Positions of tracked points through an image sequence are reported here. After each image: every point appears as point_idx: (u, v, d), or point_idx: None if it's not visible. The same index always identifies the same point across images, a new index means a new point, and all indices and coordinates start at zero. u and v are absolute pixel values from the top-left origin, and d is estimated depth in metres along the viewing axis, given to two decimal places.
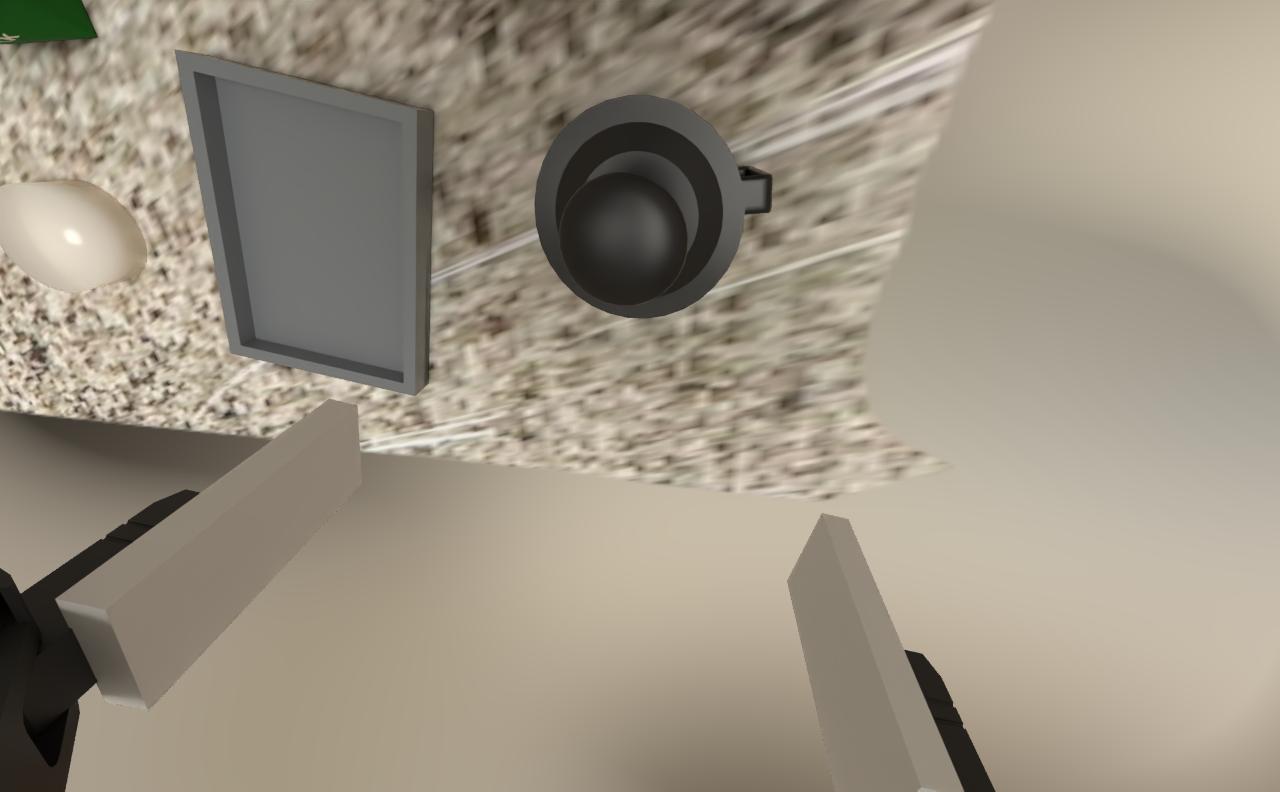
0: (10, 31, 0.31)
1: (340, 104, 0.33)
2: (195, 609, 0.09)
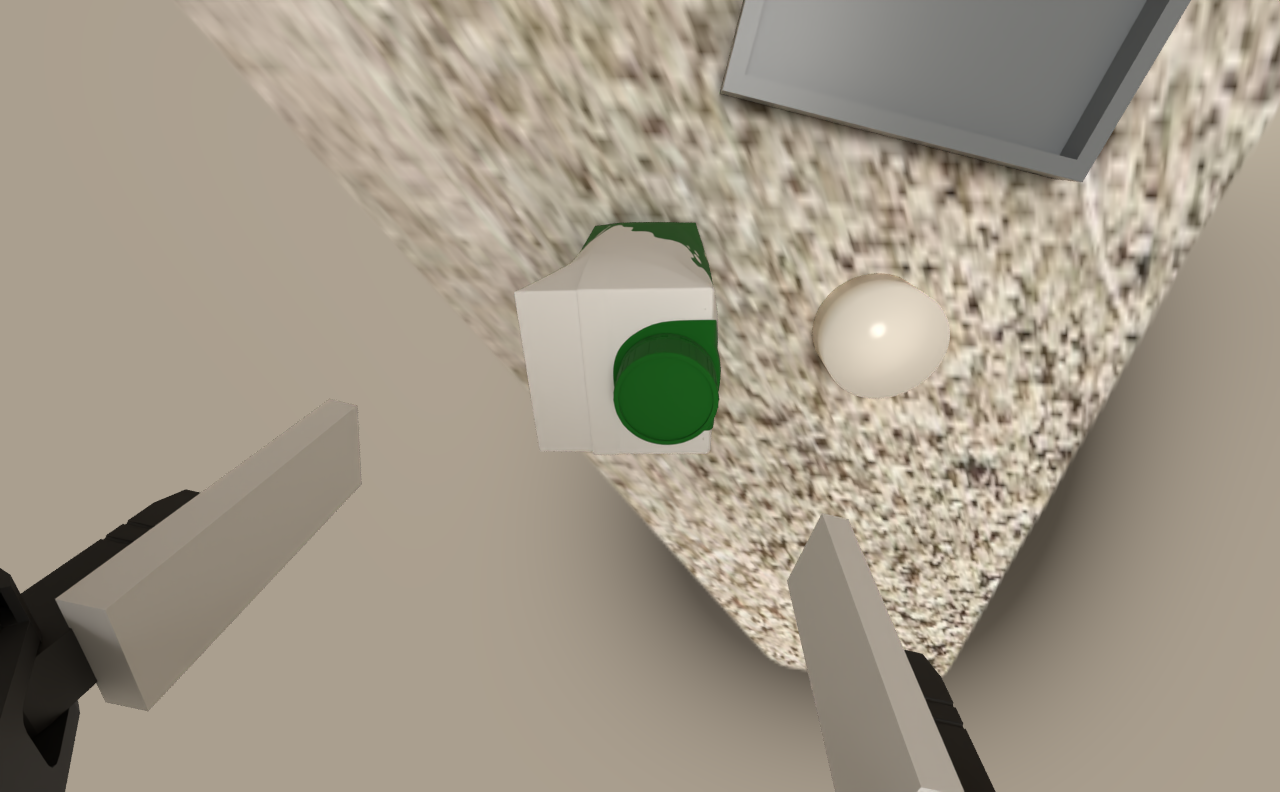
0: (701, 249, 0.31)
1: None
2: (195, 609, 0.09)
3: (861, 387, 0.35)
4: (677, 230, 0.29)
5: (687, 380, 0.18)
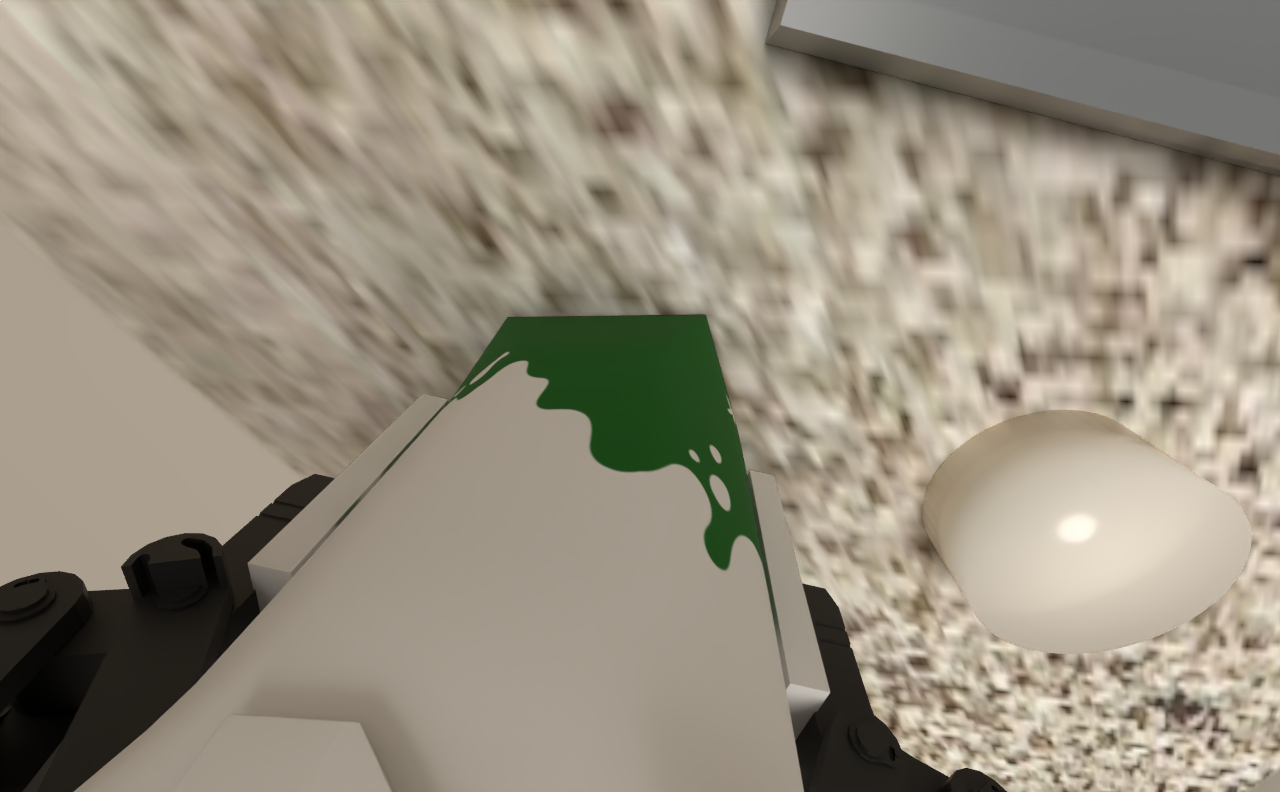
0: (722, 398, 0.14)
1: None
2: None
3: (1035, 636, 0.18)
4: (665, 380, 0.11)
5: None
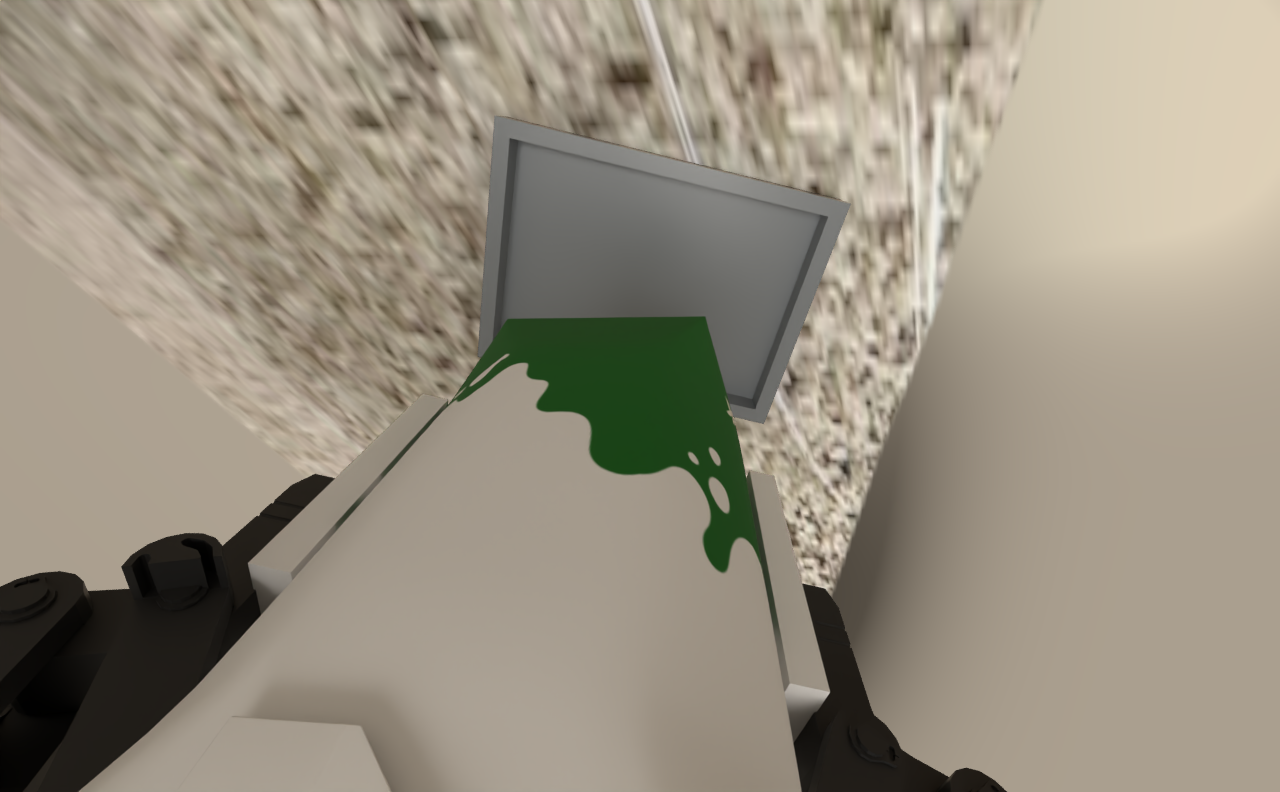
0: (722, 400, 0.14)
1: (500, 208, 0.32)
2: None
3: None
4: (664, 383, 0.11)
5: None
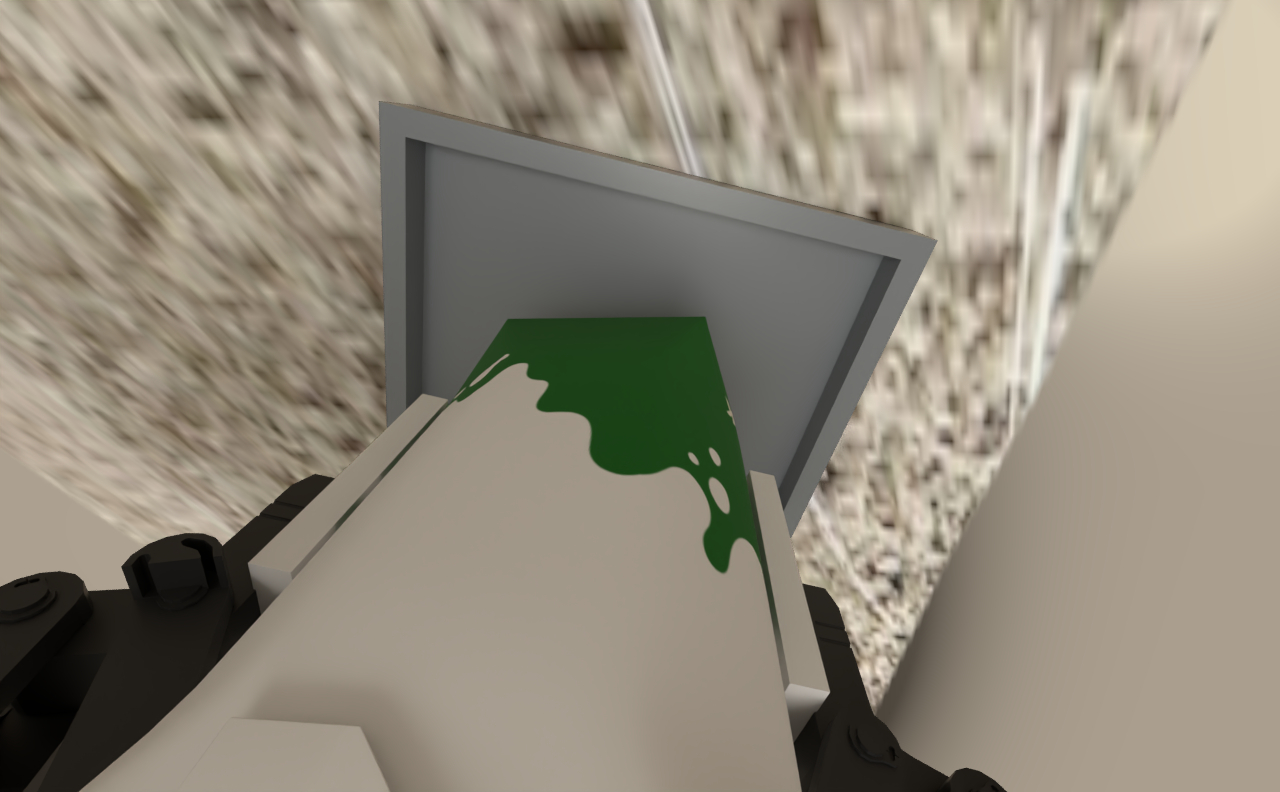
0: (722, 400, 0.14)
1: (401, 243, 0.21)
2: None
3: None
4: (665, 383, 0.11)
5: None
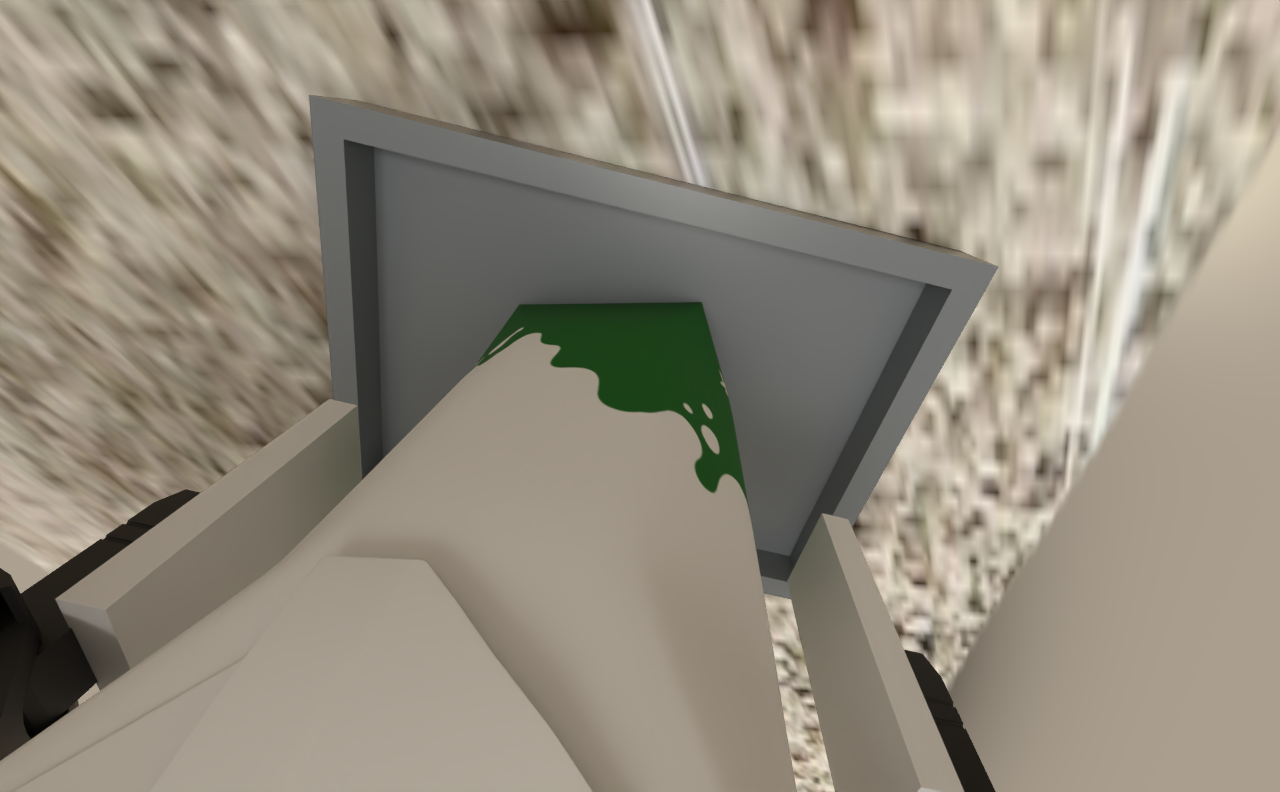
0: (715, 372, 0.15)
1: (345, 266, 0.18)
2: (195, 609, 0.09)
3: None
4: (663, 349, 0.13)
5: None
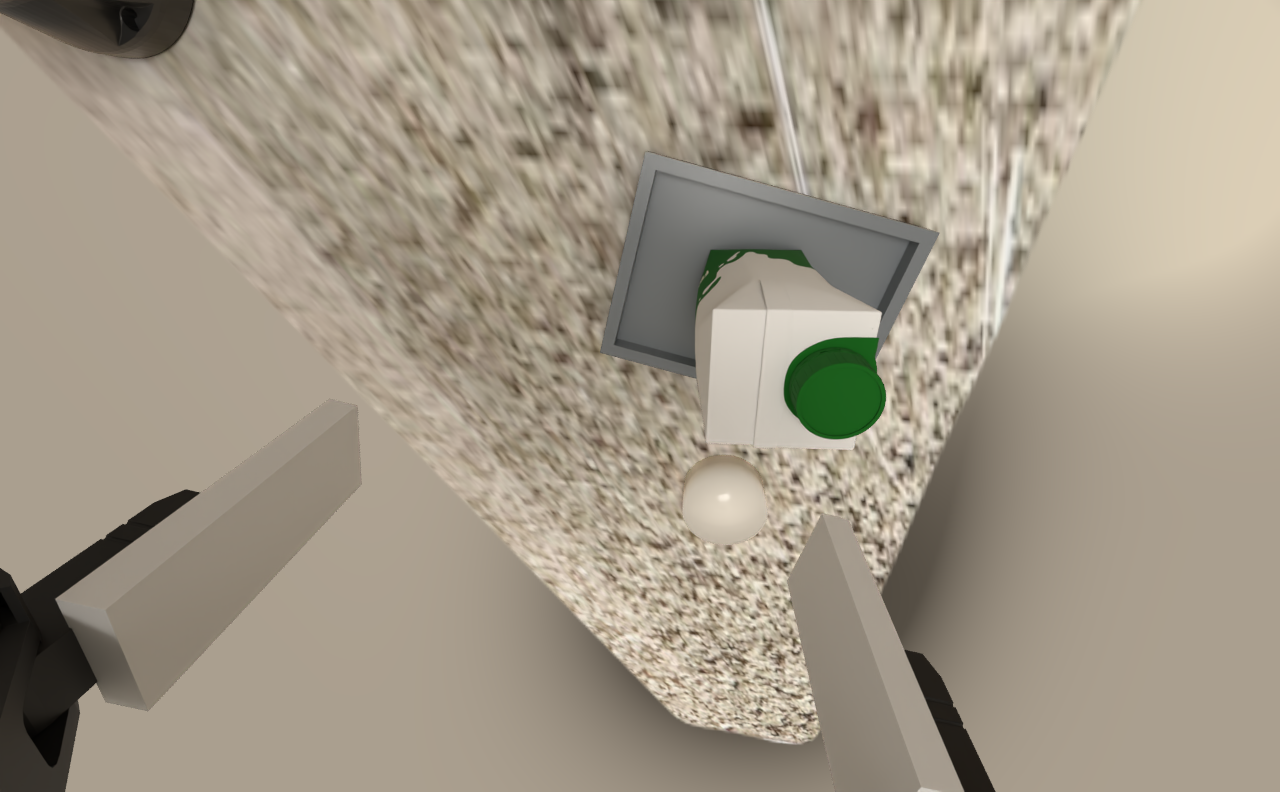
0: None
1: (639, 227, 0.38)
2: (195, 609, 0.09)
3: (711, 537, 0.49)
4: (802, 258, 0.33)
5: (861, 386, 0.23)
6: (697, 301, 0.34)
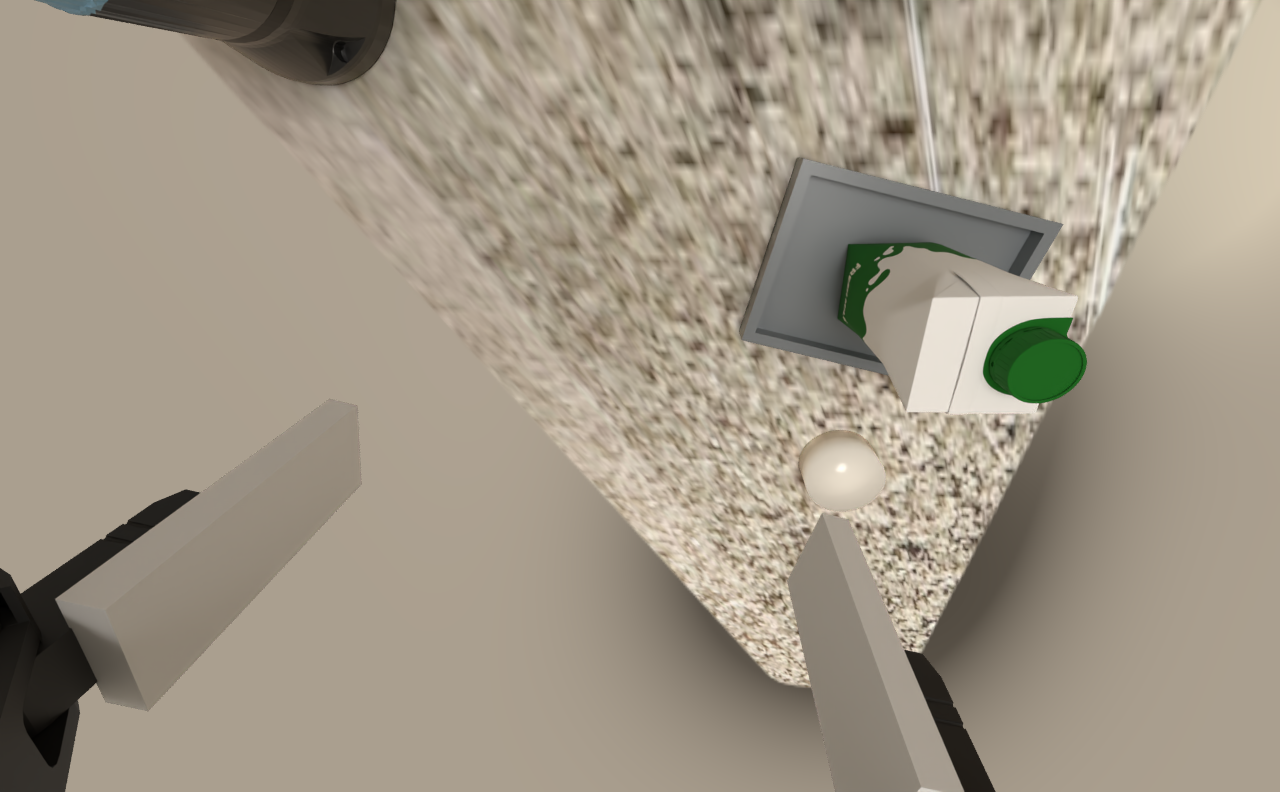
0: None
1: (790, 226, 0.42)
2: (195, 609, 0.09)
3: (830, 505, 0.54)
4: None
5: (1066, 358, 0.27)
6: (859, 291, 0.39)
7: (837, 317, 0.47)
